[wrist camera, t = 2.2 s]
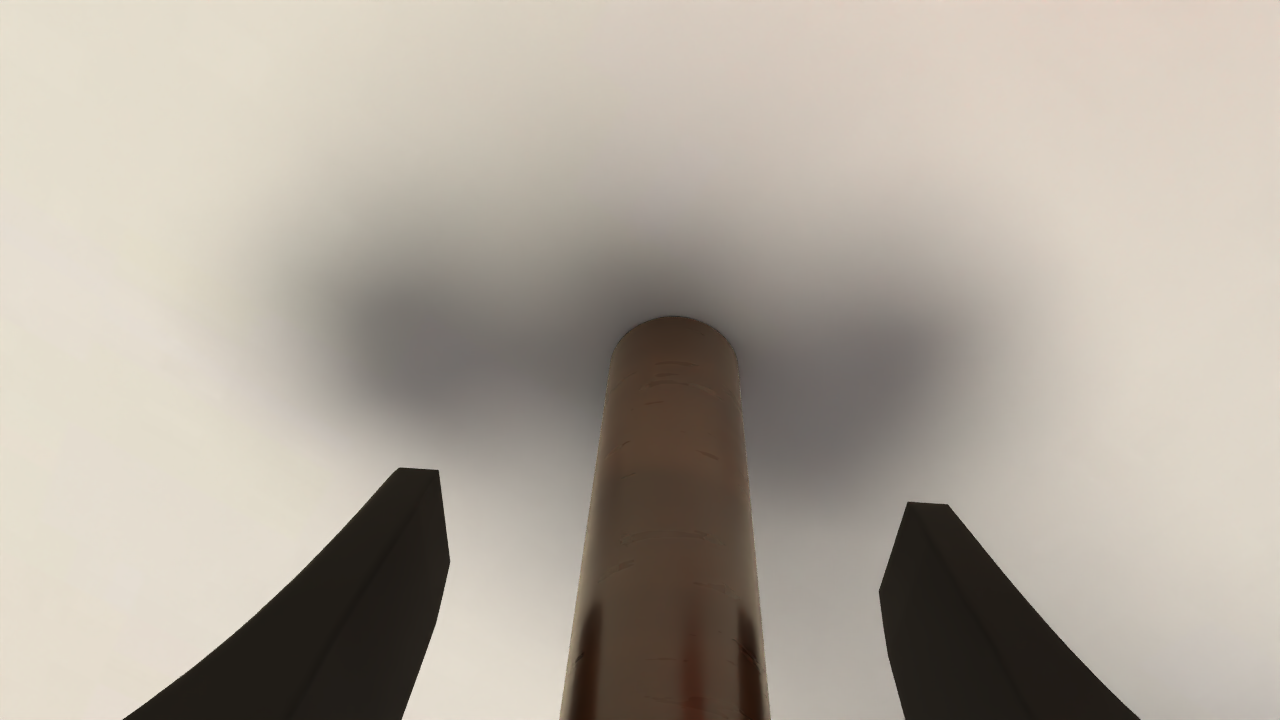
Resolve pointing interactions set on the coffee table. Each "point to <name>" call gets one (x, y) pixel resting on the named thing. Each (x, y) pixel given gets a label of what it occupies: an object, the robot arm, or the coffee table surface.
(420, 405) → the coffee table surface
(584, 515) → the coffee table surface
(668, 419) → the brown cylinder
